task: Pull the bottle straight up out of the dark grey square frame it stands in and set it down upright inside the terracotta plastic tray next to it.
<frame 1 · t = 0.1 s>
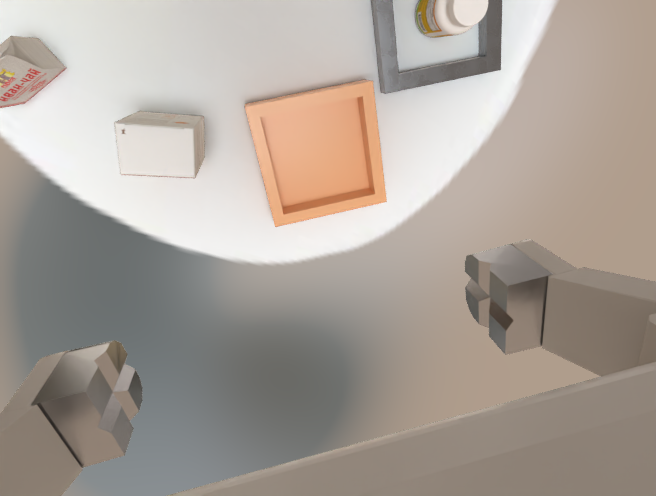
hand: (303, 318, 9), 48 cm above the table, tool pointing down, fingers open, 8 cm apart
small box: (173, 134, 52), on the table
dark grey square frame: (434, 13, 51), on the table
tray: (316, 151, 56), on the table
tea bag: (32, 71, 47), on the table
supplement bottle: (433, 14, 51), resting in dark grey square frame
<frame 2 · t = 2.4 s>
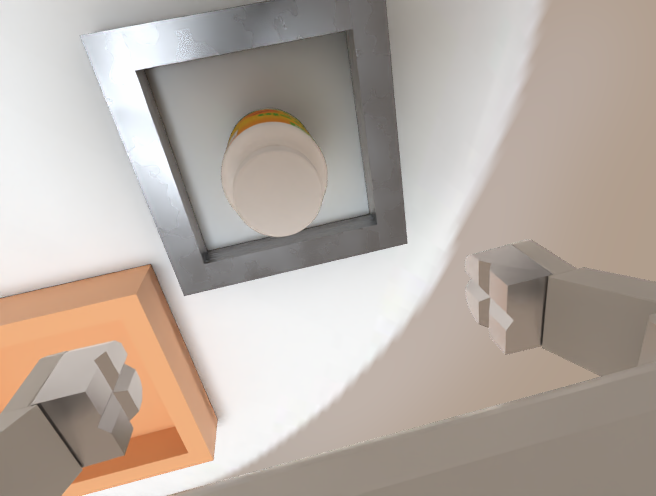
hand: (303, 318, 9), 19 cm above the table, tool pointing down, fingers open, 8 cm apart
dark grey square frame: (270, 150, 26), on the table
tray: (85, 375, 31), on the table
supplement bottle: (270, 149, 26), resting in dark grey square frame
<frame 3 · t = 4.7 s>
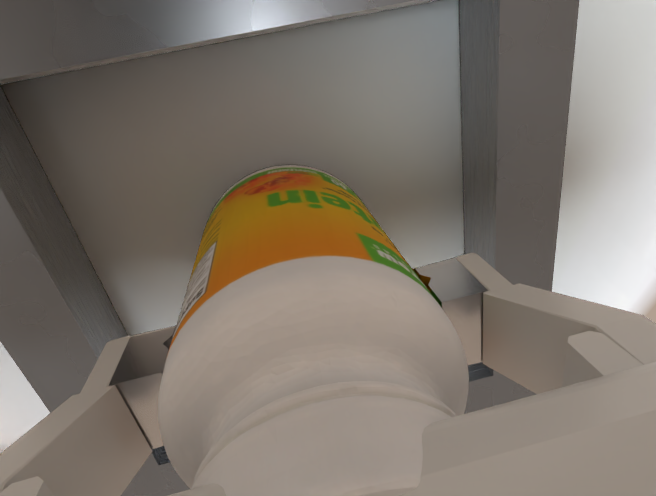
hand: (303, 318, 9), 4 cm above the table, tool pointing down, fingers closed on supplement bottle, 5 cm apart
dark grey square frame: (289, 243, 13), on the table
supplement bottle: (289, 241, 13), resting in dark grey square frame, touching gripper
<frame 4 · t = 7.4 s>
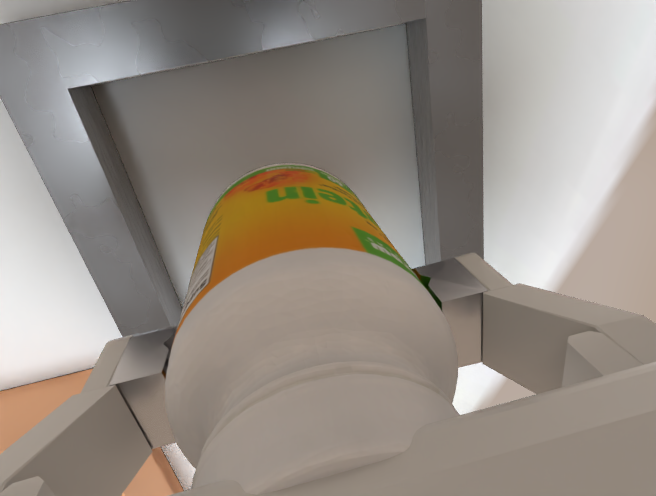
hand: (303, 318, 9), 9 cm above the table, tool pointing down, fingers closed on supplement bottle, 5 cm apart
dark grey square frame: (288, 203, 18), on the table
supplement bottle: (287, 237, 14), point 4 cm above the table, touching gripper
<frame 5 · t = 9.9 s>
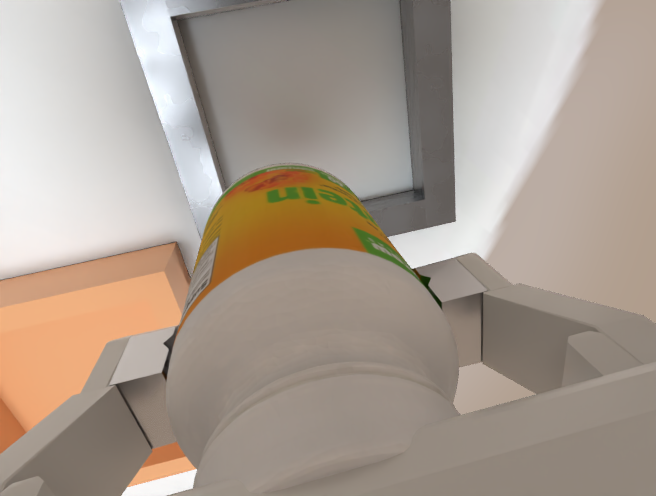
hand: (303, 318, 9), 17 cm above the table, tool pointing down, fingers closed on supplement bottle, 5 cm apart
dark grey square frame: (310, 116, 24), on the table
tray: (102, 365, 29), on the table
supplement bottle: (287, 237, 14), point 12 cm above the table, touching gripper
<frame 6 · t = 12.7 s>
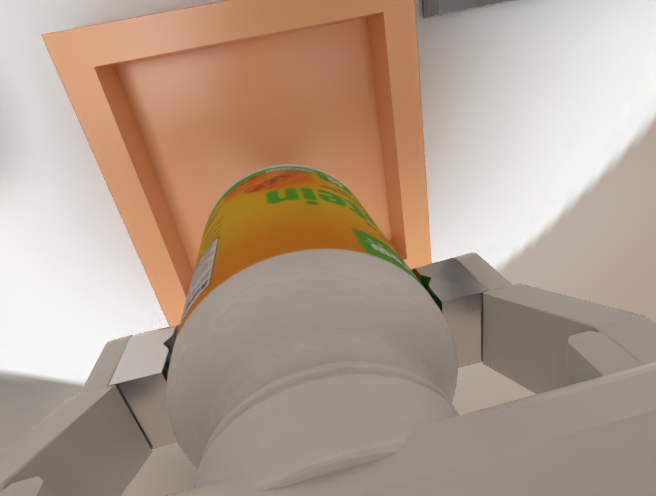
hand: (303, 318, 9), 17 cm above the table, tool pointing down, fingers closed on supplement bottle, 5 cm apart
tray: (272, 161, 24), on the table
supplement bottle: (287, 237, 14), point 12 cm above the table, touching gripper
when the fingers open (6 cm above the table, at t = 15.4 s): supplement bottle stays where it is, resting on tray.
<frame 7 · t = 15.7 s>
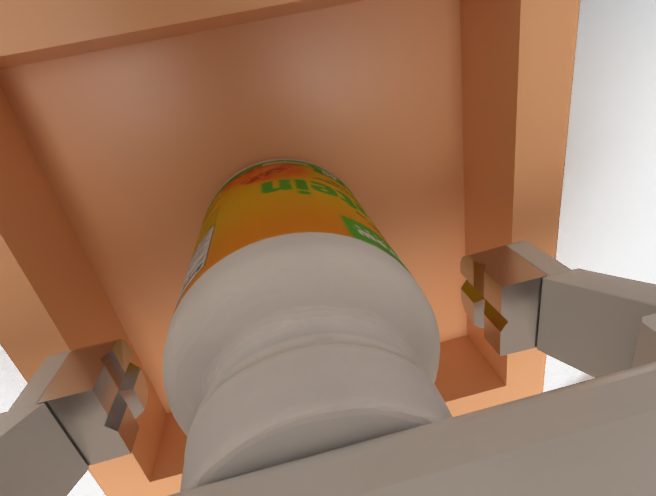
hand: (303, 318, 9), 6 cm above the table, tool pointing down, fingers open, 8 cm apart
tray: (285, 224, 15), on the table
supplement bottle: (284, 230, 14), point 1 cm above the table, touching tray
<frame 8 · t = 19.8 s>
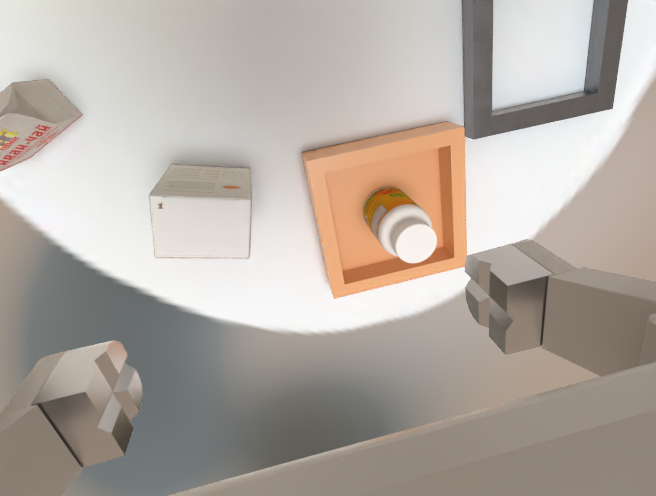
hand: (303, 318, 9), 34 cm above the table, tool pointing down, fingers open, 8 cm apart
small box: (212, 190, 42), on the table
dark grey square frame: (536, 41, 41), on the table
tray: (383, 206, 46), on the table
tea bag: (39, 119, 37), on the table
supplement bottle: (384, 207, 45), point 1 cm above the table, touching tray
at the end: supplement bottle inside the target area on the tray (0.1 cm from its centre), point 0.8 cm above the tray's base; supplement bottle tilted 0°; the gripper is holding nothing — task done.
